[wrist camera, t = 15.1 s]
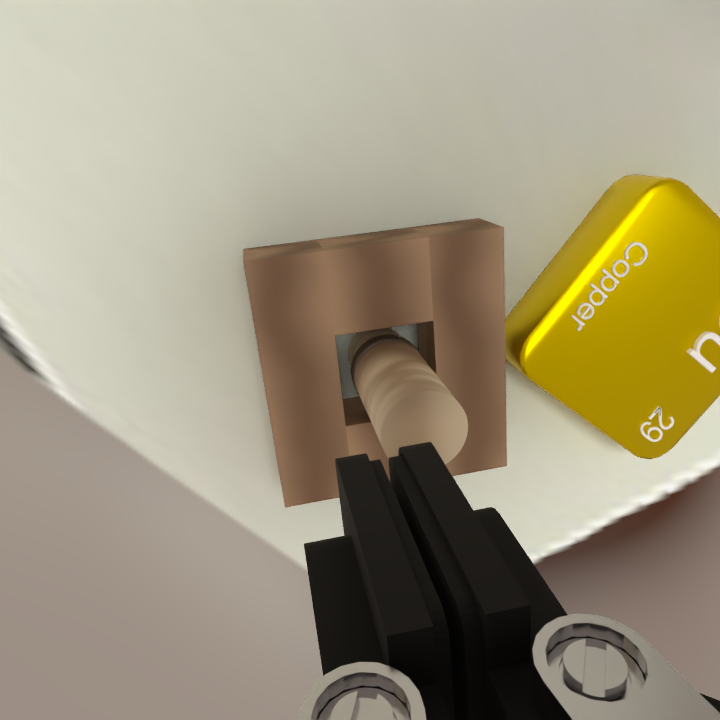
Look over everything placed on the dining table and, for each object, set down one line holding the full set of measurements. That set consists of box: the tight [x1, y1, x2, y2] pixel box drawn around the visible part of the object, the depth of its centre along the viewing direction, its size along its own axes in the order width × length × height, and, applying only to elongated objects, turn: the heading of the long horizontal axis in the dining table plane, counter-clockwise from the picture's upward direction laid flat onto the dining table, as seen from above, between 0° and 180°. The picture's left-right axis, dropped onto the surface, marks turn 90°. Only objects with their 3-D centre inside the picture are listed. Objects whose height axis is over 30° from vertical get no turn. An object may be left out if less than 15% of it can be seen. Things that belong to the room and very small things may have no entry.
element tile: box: [505, 175, 720, 459], centre depth 42 cm, size 15×15×5 cm
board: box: [243, 218, 507, 507], centre depth 39 cm, size 15×16×4 cm
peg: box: [348, 327, 468, 465], centre depth 35 cm, size 4×4×12 cm
